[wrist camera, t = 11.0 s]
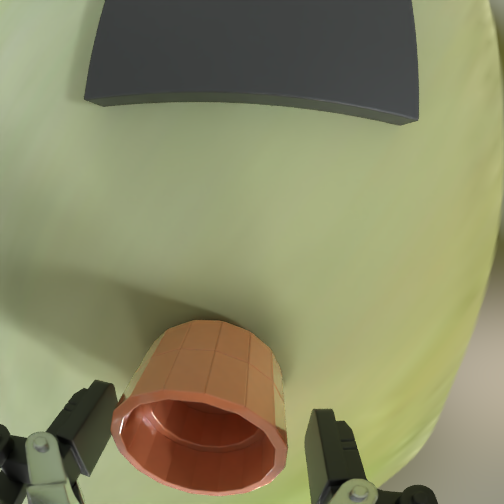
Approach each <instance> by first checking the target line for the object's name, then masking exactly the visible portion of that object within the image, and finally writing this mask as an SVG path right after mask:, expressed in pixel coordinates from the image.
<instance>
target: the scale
mask: <svg viewBox="0 0 504 504" xmlns="http://www.w3.org/2000/svg"><path fill="white" fill-rule="evenodd" d="M84 100H86V101H89V102H92V103H95V104H97V105H100V106H103V107H105V106H115V105H126V104H140V103H160V102H229V103H249V104H264V105H276V106H286V107H296V108H304V109H312V110H319V111H326V112H333V113H339V114H345V115H351V116H357V117H362V118H367V119H372V120H377V121H382V122H386V123H391V124H395V125H404V124H408V123H411V122H415V121H418V119H419V79H418V57H417V44H416V32H415V23H414V15H413V7H412V0H105V3H104V7H103V10H102V14H101V17H100V21H99V25H98V29H97V33H96V37H95V41H94V46H93V50H92V55H91V60H90V65H89V71H88V77H87V83H86V89H85V96H84Z"/></svg>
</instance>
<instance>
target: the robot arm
mask: <svg viewBox="0 0 504 504" xmlns="http://www.w3.org/2000/svg"><path fill="white" fill-rule="evenodd" d="M117 404H118V401H117V397H116V392H115V387H114V385H113V384H111V383H107V382H103V381H99V380H95V381H94V382H93V383H92V384H91V386H90V387H89V388H88V389H85V388H83V389H81V390H80V391H78V392H77V393H75V394H74V395H73V396H72V398H71V399H70V400H69V401H68V403H67V404H66V405H65V407H64V409H62V411H61V412H60V413H59V415H58V416H57V417H56V419H55V420H54V421H53V423H52V424H51V425H50V427H49V428H48V429H47V431H46V432H36V433H33V434H32V435H30V436H29V437H28V438H24V437H18V436H13V435H10V433H9V431H8V429H7V428H6V427H5V426H4V425H1V424H0V468H1V469H2V470H1V472H0V504H22V503H23V501H24V499H25V497H26V495H27V499H28V504H86V502H85V500H84V497H83V494H82V491H81V488H80V485H79V482H78V479H77V478H78V477H79V475H80V473H81V474H83V475H86V476H88V477H90V475H91V473H92V471H93V469H94V467H95V465H96V463H97V461H98V459H99V458H100V456H101V454H102V452H103V450H104V448H105V446H106V444H107V442H108V440H109V438H110V437H111V435H112V434H111V432H110V427H111V421H112V415H113V411H114V409H115V407H116V405H117ZM305 454H306V462H307V470H308V478H309V487H310V495H311V504H438V502H437V500H436V497H435V494H434V493H433V491H432V490H431V489H430V488H428V487H426V486H423V485H413V486H410V487H408V488H406V489H405V490H404V491H403V492H390V491H382V490H379V489H377V488H376V487H375V485H374V484H372V483H371V482H369V481H368V480H367V478H366V476H365V472H364V469H363V465H362V462H361V458H360V455H359V452H358V449H357V445H356V441H355V438H354V435H353V432H352V429H351V428H350V427H349V426H348V425H347V423H346V422H345V421H336V420H335V416H334V412H333V410H332V409H313V410H312V413H311V417H310V420H309V424H308V428H307V431H306V435H305Z"/></svg>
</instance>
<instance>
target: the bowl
mask: <svg viewBox="0 0 504 504" xmlns="http://www.w3.org/2000/svg"><path fill="white" fill-rule="evenodd" d="M110 432H111V434H112V436H113V439H114V441H115V443H116V446H117V448H118V450H119V451H120V453H121V454H122V455H123V456H124V457H125V458H126V459H127V460H128V461H129V462H130V463H131V464H132V465H133V466H134V467H135V468H136V469H138V470H139V471H140V472H142V473H143V474H145V475H147V476H149V477H150V478H152V479H154V480H155V481H157V482H159V483H161V484H163V485H166V486H169V487H172V488H175V489H178V490H181V491H184V492H188V493H192V494H201V495H211V496H226V495H234V494H242V493H247V492H250V491H253V490H255V489H257V488H260V487H262V486H264V485H267V484H269V483H270V482H272V481H273V480H274V479H275V478H276V476H277V475H278V474H279V473H280V472H281V471H282V470H283V469H284V468H285V466H286V458H287V450H288V444H287V431H286V419H285V407H284V396H283V384H282V373H281V369H280V367H279V364H278V362H277V360H276V358H275V356H274V354H273V352H272V350H271V349H270V348H269V347H268V346H267V345H266V344H265V343H263V342H262V341H261V340H260V339H259V338H258V337H256V336H255V335H254V334H253V333H252V332H250V331H248V330H246V329H243V328H240V327H238V326H235V325H232V324H230V323H227V322H224V321H223V322H222V321H216V320H193V321H189V322H186V323H183V324H180V325H177V326H174V327H171V328H169V329H167V330H166V331H165V332H164V333H163V334H162V335H161V336H160V337H159V338H158V339H157V340H156V341H155V342H154V343H153V344H152V345H151V347H150V349H149V350H148V352H147V354H146V355H145V357H144V359H143V360H142V362H141V364H140V366H139V367H138V369H137V371H136V373H135V374H134V376H133V377H132V379H131V381H130V383H129V384H128V386H127V388H126V390H125V391H124V393H123V395H122V397H121V398H120V400H119V402H118V404H117V405H116V407H115V409H114V411H113V415H112V421H111V427H110Z"/></svg>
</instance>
